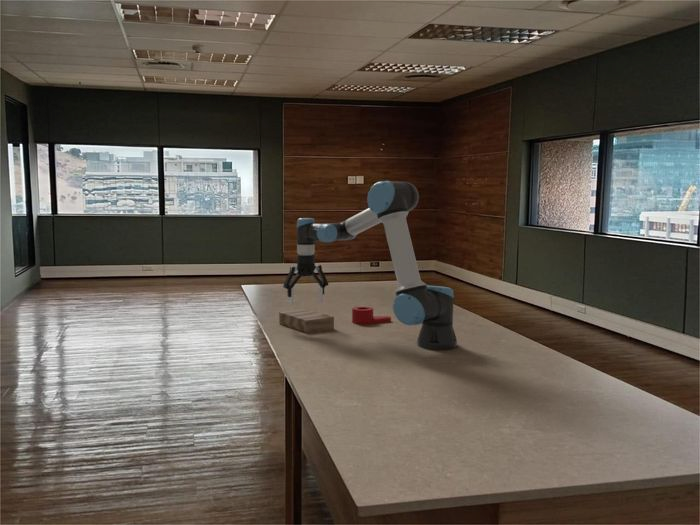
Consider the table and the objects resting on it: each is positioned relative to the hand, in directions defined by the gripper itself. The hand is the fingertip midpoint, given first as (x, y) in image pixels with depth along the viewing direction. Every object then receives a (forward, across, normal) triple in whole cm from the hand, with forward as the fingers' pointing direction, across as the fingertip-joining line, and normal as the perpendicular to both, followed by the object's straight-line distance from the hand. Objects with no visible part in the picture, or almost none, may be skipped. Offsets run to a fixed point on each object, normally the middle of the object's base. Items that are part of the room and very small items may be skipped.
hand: (306, 303), depth 271 cm
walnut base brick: (+11, 0, 0) cm, 11 cm away
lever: (+11, -30, +4) cm, 33 cm away
